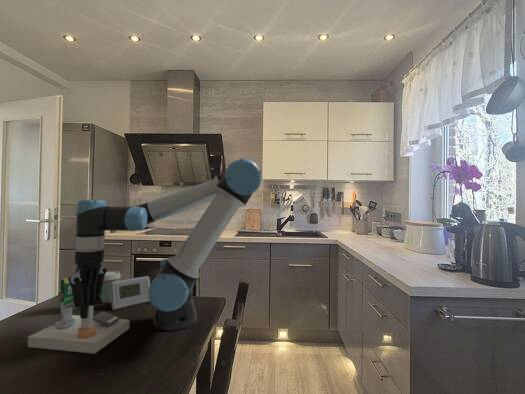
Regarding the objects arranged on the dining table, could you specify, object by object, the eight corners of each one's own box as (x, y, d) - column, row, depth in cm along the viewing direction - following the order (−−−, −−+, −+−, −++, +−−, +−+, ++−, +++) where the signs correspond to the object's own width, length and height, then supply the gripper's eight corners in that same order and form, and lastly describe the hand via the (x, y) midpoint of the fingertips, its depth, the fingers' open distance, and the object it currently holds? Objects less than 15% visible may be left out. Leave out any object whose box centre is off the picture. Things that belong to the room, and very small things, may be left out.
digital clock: (110, 311, 108) (111, 284, 108) (108, 304, 115) (109, 279, 116) (153, 304, 117) (154, 279, 117) (149, 298, 124) (149, 274, 125)
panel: (129, 328, 94) (129, 318, 94) (94, 353, 78) (95, 341, 78) (72, 323, 96) (72, 313, 97) (27, 346, 81) (28, 334, 81)
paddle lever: (75, 322, 90) (75, 307, 90) (64, 328, 86) (65, 311, 86) (67, 322, 90) (67, 306, 90) (56, 327, 86) (57, 311, 86)
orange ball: (99, 341, 85) (100, 325, 85) (87, 349, 80) (88, 332, 80) (85, 340, 85) (86, 324, 85) (73, 348, 80) (73, 331, 81)
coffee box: (62, 314, 104) (63, 279, 105) (59, 312, 106) (60, 278, 106) (85, 307, 111) (86, 275, 112) (81, 306, 113) (82, 274, 113)
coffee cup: (110, 305, 115) (111, 276, 115) (93, 303, 116) (94, 275, 117) (124, 298, 123) (125, 271, 123) (108, 296, 125) (109, 270, 125)
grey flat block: (118, 320, 93) (119, 317, 93) (108, 326, 88) (109, 323, 88) (102, 314, 93) (103, 311, 93) (91, 320, 88) (92, 317, 88)
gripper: (94, 246, 90) (91, 317, 90) (60, 252, 77) (56, 336, 77) (115, 247, 89) (112, 319, 89) (84, 254, 76) (80, 339, 76)
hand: (86, 327), depth 83 cm, fingers closed
